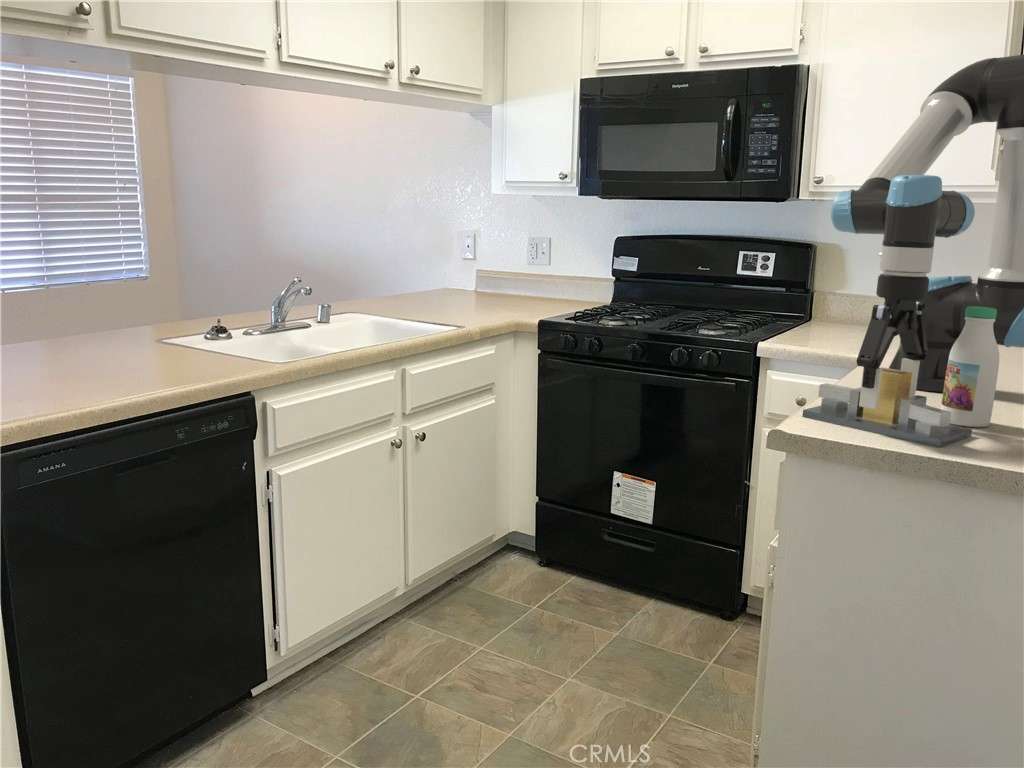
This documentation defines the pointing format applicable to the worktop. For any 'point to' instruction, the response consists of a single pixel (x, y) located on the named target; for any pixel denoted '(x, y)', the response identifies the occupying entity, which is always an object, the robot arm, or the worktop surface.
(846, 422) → the grey fixture board
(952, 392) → the milk bottle
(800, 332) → the worktop surface
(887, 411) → the yellow block
